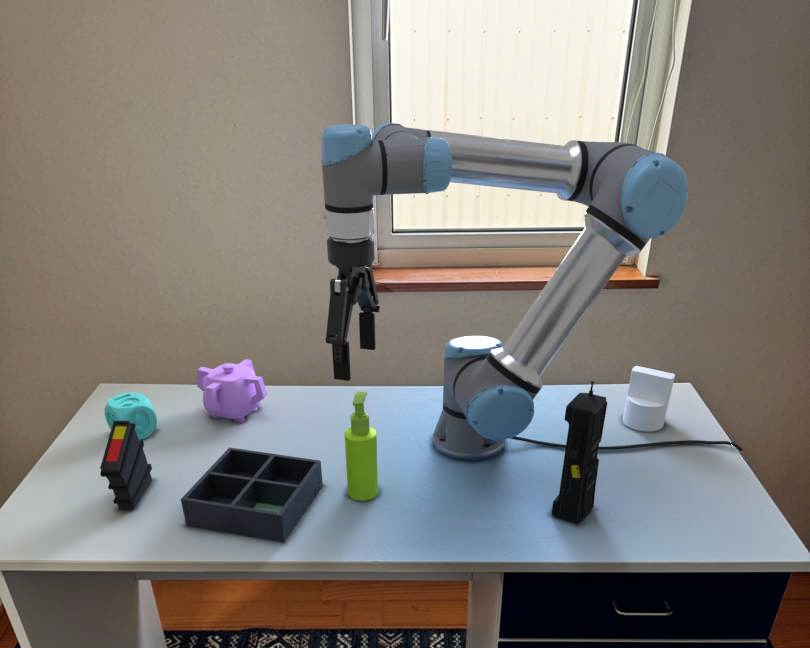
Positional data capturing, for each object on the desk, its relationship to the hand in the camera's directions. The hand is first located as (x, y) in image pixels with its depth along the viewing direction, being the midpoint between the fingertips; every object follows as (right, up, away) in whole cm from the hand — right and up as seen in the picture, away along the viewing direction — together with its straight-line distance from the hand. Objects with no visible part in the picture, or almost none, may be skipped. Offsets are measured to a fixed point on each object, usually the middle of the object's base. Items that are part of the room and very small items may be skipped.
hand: (355, 363), depth 132 cm
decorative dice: (-51, -7, +35) cm, 62 cm away
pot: (-31, -2, +43) cm, 53 cm away
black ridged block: (-44, -23, +14) cm, 51 cm away
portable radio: (+40, -26, +9) cm, 49 cm away
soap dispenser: (0, -21, +16) cm, 27 cm away
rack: (-20, -24, +12) cm, 33 cm away
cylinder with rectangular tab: (+62, -4, +38) cm, 73 cm away
